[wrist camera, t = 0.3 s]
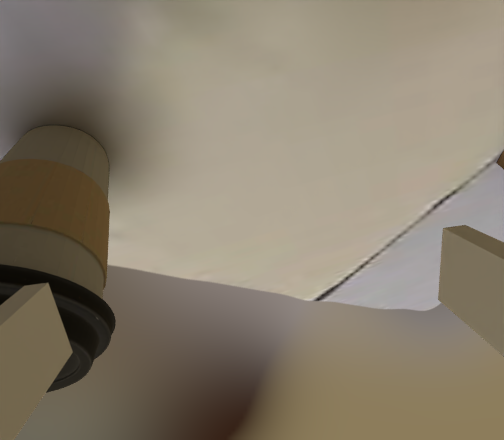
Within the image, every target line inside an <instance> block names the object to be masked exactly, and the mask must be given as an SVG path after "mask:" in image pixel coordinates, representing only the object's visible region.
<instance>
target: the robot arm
mask: <svg viewBox="0 0 504 440" xmlns="http://www.w3.org/2000/svg"><path fill="white" fill-rule="evenodd" d="M438 300H439V301H440V302H442V303H443V304H444V305H445V306H446V307H447V308H449V309H450V310H451V311H452V312H453V313H454V314H455V315H457V316H458V317H459V318H460V319H461V320H462V321H464V322H465V323H466V324H467V325H468V326H469V327H470V328H471V329H473V330H474V331H475V332H476V333H477V334H478V335H480V336H481V337H482V338H483V339H484V340H485V341H486V342H487V343H489V344H490V345H491V346H492V347H493V348H494V349H495V350H497V351H498V352H499V353H500V354H501V355H502V356H504V242H501V241H499V240H497V239H495V238H493V237H490V236H488V235H486V234H484V233H482V232H479V231H477V230H475V229H473V228H471V227H469V226H466V225H462V226H454V227H447V228H443V235H442V250H441V265H440V280H439V295H438ZM72 353H73V351H72V349H71V346H70V343H69V340H68V337H67V334H66V332H65V329H64V326H63V323H62V320H61V317H60V315H59V312H58V309H57V306H56V303H55V301H54V298H53V295H52V292H51V289H50V286H49V284H48V283H41V284H34V285H27V286H23V287H22V288H21V289H20V290H19V291H17V292H16V293H15V294H14V295H13V296H11V297H10V298H9V299H8V300H6V301H5V302H4V303H3V304H2V305H0V440H14V439H15V438H16V436H17V435H18V433H19V432H20V430H21V429H22V427H23V426H24V424H25V423H26V421H27V420H28V418H29V417H30V415H31V414H32V412H33V411H34V409H35V408H36V406H37V405H38V403H39V402H40V400H41V399H42V397H43V396H44V394H45V393H46V391H47V390H48V388H49V387H50V386H51V384H52V383H53V381H54V380H55V378H56V377H57V375H58V374H59V372H60V371H61V369H62V368H63V366H64V365H65V363H66V362H67V360H68V359H69V357H70V356H71V354H72Z"/></svg>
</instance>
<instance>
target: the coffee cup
mask: <svg viewBox="0 0 504 440" xmlns="http://www.w3.org/2000/svg"><path fill="white" fill-rule="evenodd" d="M108 186H109V161H108V158H107V155H106V153H105V151H104V149H103V148H102V146H101V145H100V144H99V143H98V142H97V141H96V140H95V139H94V138H93V137H91V136H90V135H88V134H86V133H85V132H83V131H80V130H77V129H75V128H71V127H66V126H58V125H48V126H42V127H37V128H35V129H32V130H30V131H29V132H27V133H26V134H25V135H24V136H23V137H22V138H21V139H20V140H19V141H18V142H17V143H16V144H15V145H14V147H13V148H12V149H11V150H10V151H9V152H8V153H7V154H6V155H5V156H4V158H3V159H2V160H1V161H0V305H2V304H3V303H4V302H5V301H6V300H8V299H9V298H10V297H11V296H13V295H14V294H15V293H16V292H17V291H19V290H20V289H21V288H22V287H23V286H27V285H34V284H41V283H48V284H49V286H50V289H51V292H52V295H53V298H54V301H55V303H56V306H57V309H58V312H59V315H60V317H61V320H62V323H63V326H64V329H65V332H66V334H67V337H68V340H69V343H70V346H71V349H72V351H73V353H72V354H71V356H70V357H69V359H68V360H67V362H66V363H65V365H64V366H63V368H62V369H61V371H60V372H59V374H58V375H57V377H56V378H55V380H54V381H53V383H52V384H51V386H50V387H49V388H48V390H47V391H46V393H47V392H50V391H54V390H58V389H60V388H64V387H66V386H69V385H71V384H73V383H75V382H77V381H79V380H80V379H82V378H83V377H84V376H85V375H86V374H87V373H88V372H89V370H90V368H91V366H92V364H93V361H94V359H95V358H97V357H98V356H99V355H101V354H102V353H103V352H104V351H105V350H106V348H107V347H108V345H109V343H110V339H111V335H112V333H113V331H114V329H115V316H114V313H113V312H112V310H111V308H110V307H109V306H108V304H107V303H106V302H105V301H104V300H103V289H104V287H105V285H106V278H107V259H108V237H109V215H110V211H109V203H108Z"/></svg>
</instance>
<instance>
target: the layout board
mask: <svg viewBox="0 0 504 440" xmlns="http://www.w3.org/2000/svg"><path fill="white" fill-rule="evenodd" d="M497 164H498V165H500V166H501V167H502V168H503V169H504V151H503V153H502V154H501V156H500V158H499V160H498V161H497Z"/></svg>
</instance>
